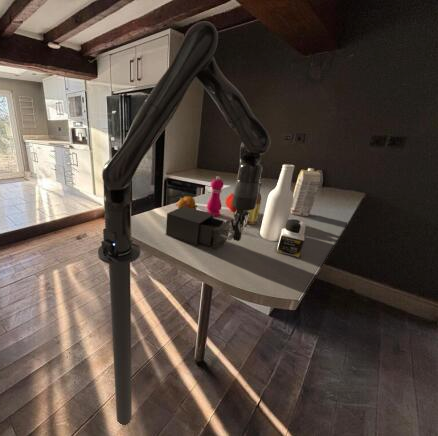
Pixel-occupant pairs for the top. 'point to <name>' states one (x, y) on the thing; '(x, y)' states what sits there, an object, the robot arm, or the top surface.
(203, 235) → the drawer
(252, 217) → the sauce bottle
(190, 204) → the orange rounded lump
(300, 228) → the medicine bottle
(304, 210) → the juice carton
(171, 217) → the cabinet
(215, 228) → the block
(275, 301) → the top surface
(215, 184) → the pepper mill
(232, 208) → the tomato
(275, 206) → the alcohol
